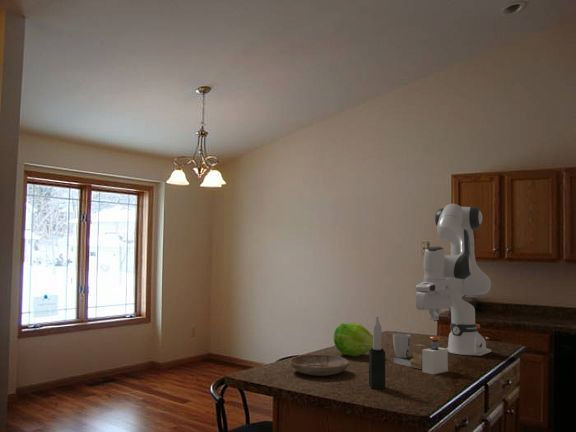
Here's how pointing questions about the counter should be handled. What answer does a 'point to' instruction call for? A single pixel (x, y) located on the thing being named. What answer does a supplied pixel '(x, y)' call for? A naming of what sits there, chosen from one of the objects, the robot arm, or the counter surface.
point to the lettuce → (353, 339)
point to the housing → (434, 360)
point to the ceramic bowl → (319, 364)
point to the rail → (402, 362)
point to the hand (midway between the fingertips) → (434, 320)
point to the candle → (377, 360)
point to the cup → (401, 344)
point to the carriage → (417, 356)
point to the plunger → (435, 343)
